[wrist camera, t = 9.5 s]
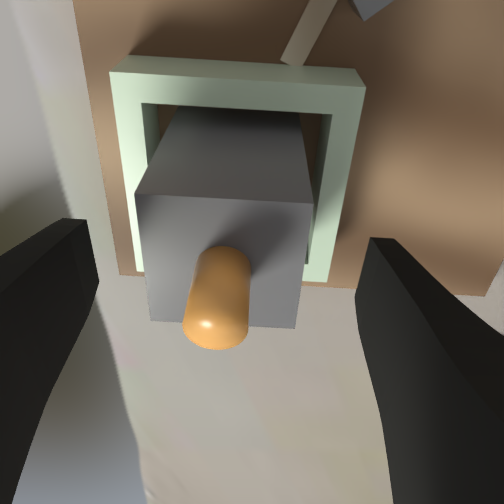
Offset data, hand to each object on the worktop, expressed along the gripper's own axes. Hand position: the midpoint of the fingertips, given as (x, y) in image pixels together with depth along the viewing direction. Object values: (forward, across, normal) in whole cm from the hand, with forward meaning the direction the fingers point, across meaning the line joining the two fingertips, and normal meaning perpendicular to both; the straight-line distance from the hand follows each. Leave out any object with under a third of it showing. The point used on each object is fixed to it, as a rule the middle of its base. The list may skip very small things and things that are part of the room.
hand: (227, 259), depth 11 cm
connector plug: (+6, 0, 0) cm, 6 cm away
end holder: (+6, 0, 0) cm, 6 cm away
